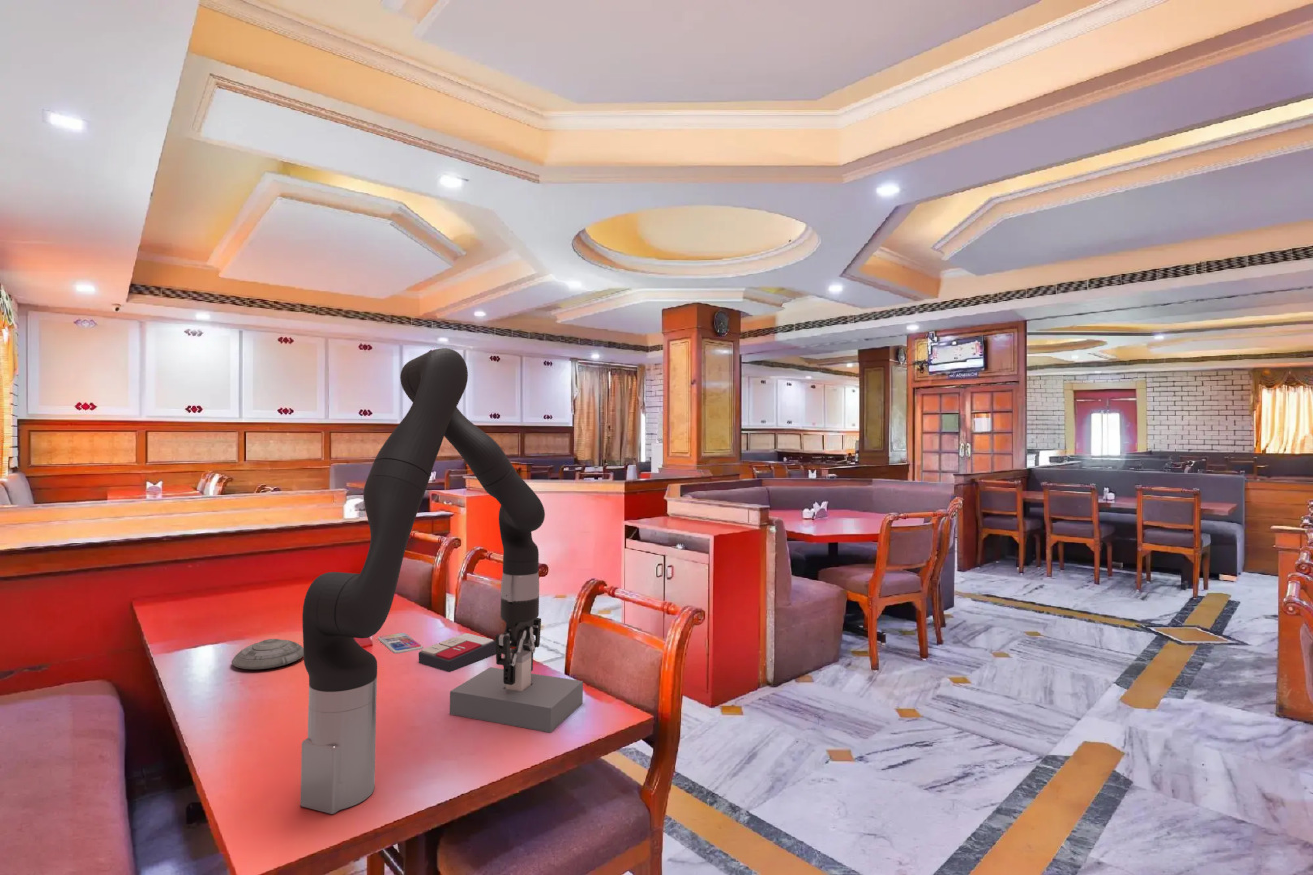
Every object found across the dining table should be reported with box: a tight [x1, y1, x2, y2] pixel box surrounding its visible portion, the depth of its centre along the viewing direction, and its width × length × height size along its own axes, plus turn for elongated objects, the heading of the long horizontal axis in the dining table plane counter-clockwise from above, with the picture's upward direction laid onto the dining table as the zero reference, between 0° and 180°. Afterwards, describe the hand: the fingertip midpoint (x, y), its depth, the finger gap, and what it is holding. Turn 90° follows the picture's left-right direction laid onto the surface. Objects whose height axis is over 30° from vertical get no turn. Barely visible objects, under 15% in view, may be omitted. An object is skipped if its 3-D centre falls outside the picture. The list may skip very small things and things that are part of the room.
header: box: [449, 666, 584, 733], centre depth 126 cm, size 14×22×4 cm, turn 72°
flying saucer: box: [231, 638, 304, 670], centre depth 149 cm, size 15×15×6 cm
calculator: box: [418, 632, 496, 673], centre depth 154 cm, size 11×4×15 cm
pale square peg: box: [506, 649, 532, 692], centre depth 126 cm, size 4×4×11 cm
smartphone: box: [377, 632, 424, 655], centre depth 164 cm, size 7×1×15 cm
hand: (518, 677), depth 126 cm, fingers open, 6 cm apart
